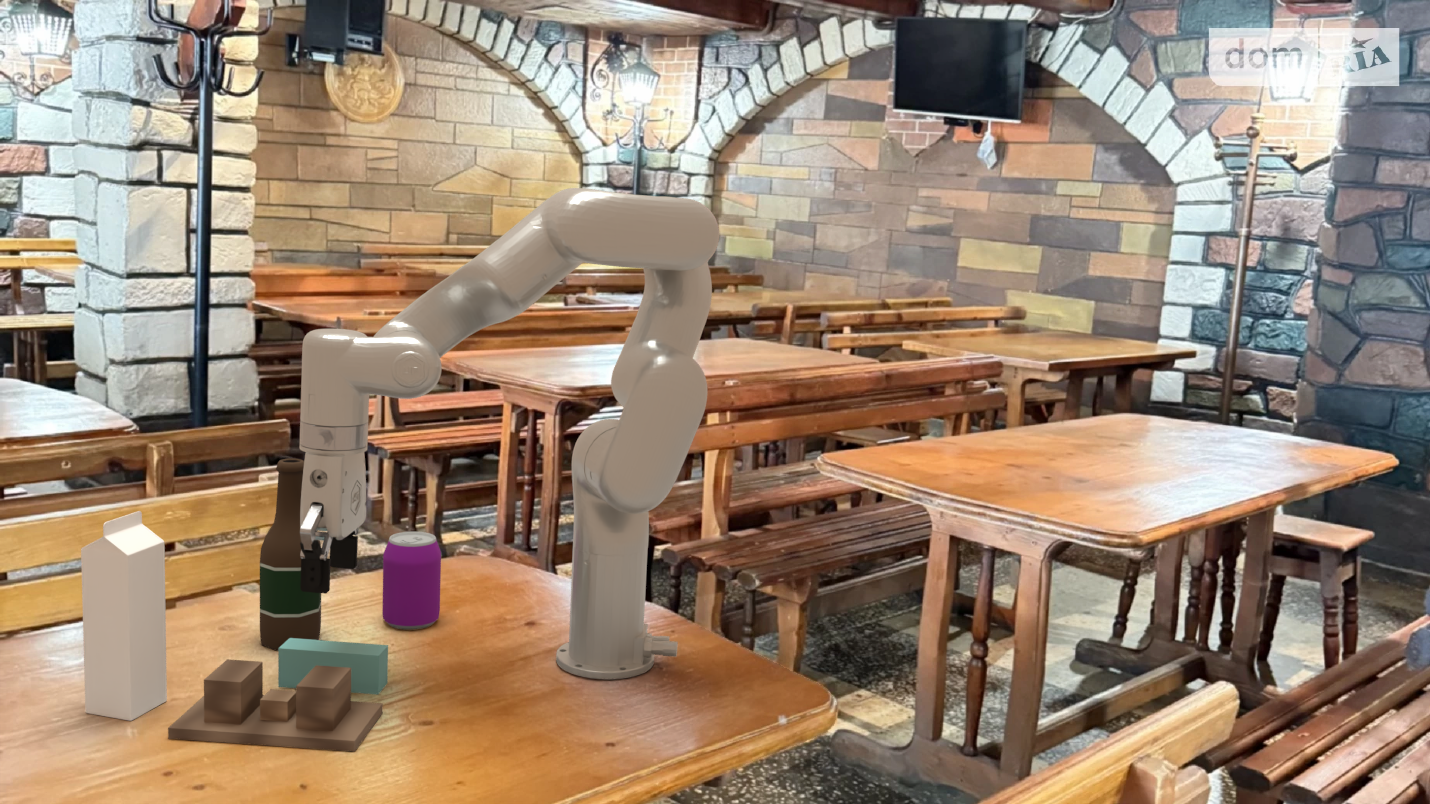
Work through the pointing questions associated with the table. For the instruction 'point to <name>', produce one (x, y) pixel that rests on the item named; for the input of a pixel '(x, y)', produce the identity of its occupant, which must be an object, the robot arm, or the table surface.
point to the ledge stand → (278, 710)
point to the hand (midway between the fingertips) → (329, 579)
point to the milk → (124, 620)
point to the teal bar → (334, 662)
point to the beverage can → (411, 580)
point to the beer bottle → (286, 568)
